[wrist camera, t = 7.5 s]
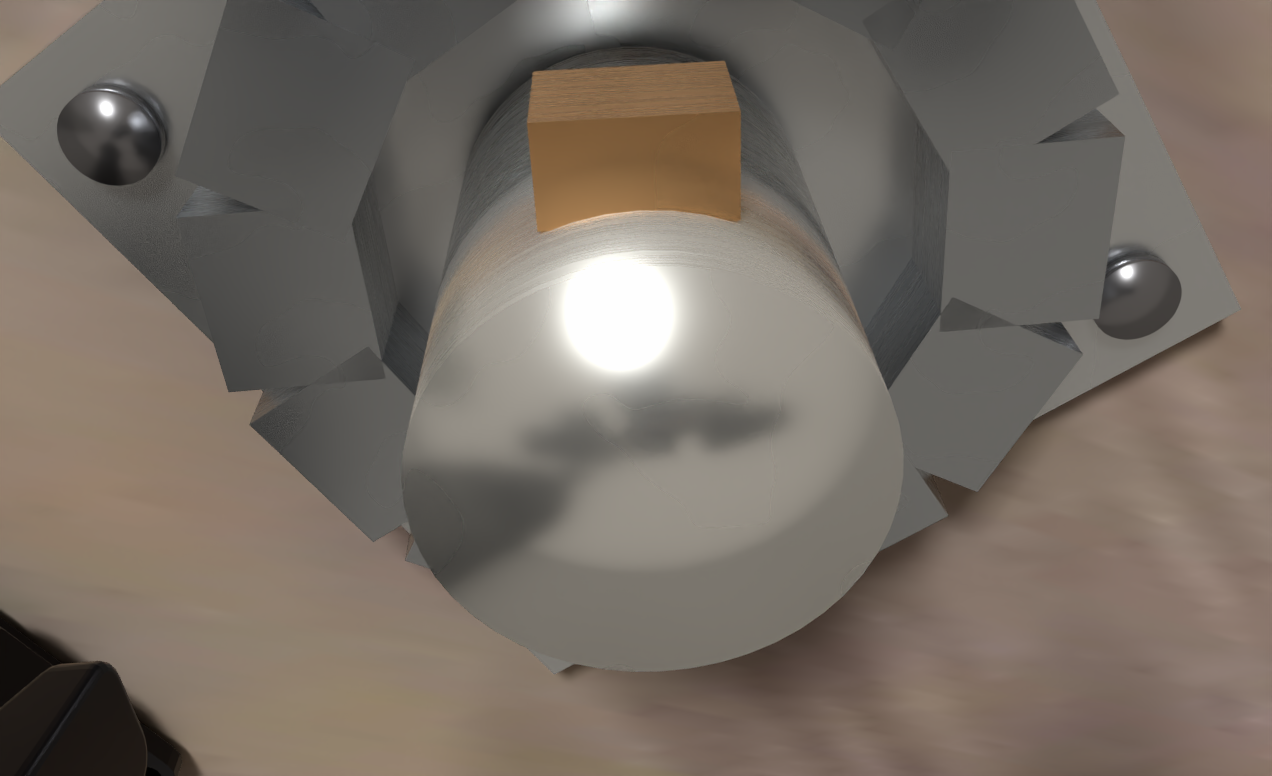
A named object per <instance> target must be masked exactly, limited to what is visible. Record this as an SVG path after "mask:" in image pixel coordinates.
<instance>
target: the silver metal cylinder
mask: <svg viewBox="0 0 1272 776" xmlns="http://www.w3.org/2000/svg"><path fill="white" fill-rule="evenodd" d="M902 481H903V444H902V438H901V431H900V425H899V421H898V418H897V415H896V412H895V409H894V406H893V403H892V400H891V397H890V395H889V392H888V390H887V387H886V385H885V382H884V379H883V377H882V374H881V372H880V369H879V367H878V364H877V362H876V359H875V357H874V354H873V352H872V349H871V346H870V344H869V341H868V339H867V336H866V334H865V331H864V329H863V326H862V324H861V321H860V319H859V316H858V314H857V311H856V308H855V306H854V303H853V301H852V298H851V296H850V293H849V291H848V288H847V286H846V283H845V281H844V278H843V275H842V273H841V270H840V268H839V265H838V263H837V260H836V258H835V255H834V253H833V250H832V248H831V245H830V243H829V240H828V237H827V235H826V232H825V230H824V227H823V225H822V222H821V220H820V217H819V215H818V212H817V210H816V207H815V204H814V202H813V199H812V197H811V194H810V192H809V189H808V187H807V184H806V182H805V179H804V177H803V174H802V172H801V169H800V166H799V164H798V161H797V159H796V156H795V154H794V151H793V149H792V146H791V144H790V142H789V140H788V138H787V136H786V134H785V132H784V130H783V128H782V126H781V125H780V124H779V122H778V121H777V119H776V118H775V116H774V115H773V114H772V112H771V111H770V109H769V108H768V107H767V106H766V105H765V104H764V103H763V102H762V101H761V99H760V98H759V97H758V96H757V95H756V94H755V93H754V92H753V91H752V90H750V89H749V88H748V87H747V86H745V85H744V84H743V83H742V82H740V81H739V80H738V79H737V78H735V77H734V76H732V75H730V74H729V72H728V69H727V66H726V63H725V61H709V62H706V61H703V60H701V59H699V58H696V57H694V56H690V55H686V54H683V53H679V52H676V51H672V50H666V49H658V48H651V47H618V48H609V49H601V50H597V51H593V52H589V53H585V54H581V55H577V56H574V57H572V58H569V59H567V60H564V61H562V62H560V63H557V64H555V65H553V66H551V67H549V68H547V69H546V70H544V71H533V77H532V78H531V79H529V80H528V81H527V82H526V83H524V84H523V85H522V86H520V87H519V88H518V89H516V90H515V91H514V92H513V93H512V94H511V95H510V96H509V97H508V98H507V99H506V100H505V101H504V102H503V103H502V104H501V105H500V106H499V107H498V109H497V110H496V111H495V113H494V114H493V115H492V117H491V118H490V119H489V120H488V122H487V123H486V125H485V126H484V128H483V130H482V132H481V133H480V135H479V137H478V139H477V141H476V142H475V145H474V147H473V150H472V152H471V155H470V158H469V160H468V163H467V167H466V171H465V175H464V180H463V184H462V189H461V193H460V197H459V202H458V206H457V211H456V215H455V220H454V224H453V229H452V233H451V238H450V242H449V247H448V251H447V256H446V260H445V265H444V269H443V274H442V278H441V283H440V287H439V292H438V296H437V301H436V305H435V310H434V314H433V319H432V323H431V328H430V332H429V337H428V341H427V346H426V350H425V355H424V359H423V364H422V368H421V373H420V377H419V382H418V386H417V391H416V395H415V400H414V404H413V409H412V413H411V418H410V422H409V427H408V431H407V436H406V440H405V445H404V449H403V457H402V474H401V482H402V492H403V502H404V508H405V512H406V515H407V519H408V523H409V526H410V530H411V533H412V535H413V537H414V539H415V542H416V544H417V546H418V548H419V551H420V553H421V555H422V557H423V558H424V560H425V561H426V563H427V565H428V566H429V568H430V569H431V571H432V572H433V574H434V576H435V577H436V578H437V579H438V581H439V582H440V583H441V584H442V585H443V587H444V588H445V589H446V590H447V591H448V592H449V594H450V595H451V596H452V597H453V598H454V599H455V600H456V601H457V602H458V603H459V604H461V605H462V606H463V607H464V608H465V609H466V610H467V611H468V612H469V613H471V614H472V615H473V616H474V617H475V618H477V619H478V620H480V621H481V622H483V623H484V624H485V625H487V626H488V627H490V628H491V629H493V630H494V631H495V632H497V633H499V634H501V635H503V636H505V637H506V638H508V639H510V640H512V641H514V642H516V643H518V644H519V645H521V646H524V647H526V648H529V649H531V650H534V651H536V652H539V653H541V654H544V655H546V656H549V657H553V658H556V659H559V660H563V661H566V662H570V663H573V664H578V665H583V666H589V667H594V668H600V669H607V670H619V671H630V672H653V671H671V670H680V669H690V668H696V667H700V666H705V665H710V664H715V663H720V662H724V661H727V660H730V659H733V658H737V657H740V656H743V655H746V654H749V653H752V652H754V651H757V650H759V649H761V648H764V647H766V646H769V645H771V644H773V643H776V642H777V641H779V640H781V639H783V638H785V637H787V636H789V635H790V634H792V633H794V632H796V631H798V630H800V629H801V628H803V627H804V626H806V625H807V624H808V623H810V622H811V621H813V620H814V619H816V618H817V617H819V616H820V615H821V614H823V613H824V612H825V611H826V610H828V609H829V608H830V607H831V606H832V605H833V604H835V603H836V602H837V601H838V600H839V599H840V598H841V597H843V596H844V595H845V594H846V593H847V591H848V590H849V589H850V588H851V587H852V586H853V585H854V584H855V583H856V581H857V580H858V579H859V578H860V577H861V576H862V575H863V574H864V572H865V571H866V569H867V568H868V566H869V565H870V563H871V562H872V560H873V559H874V558H875V556H876V555H877V553H878V552H879V550H880V548H881V546H882V544H883V542H884V540H885V538H886V536H887V534H888V532H889V530H890V528H891V525H892V522H893V519H894V516H895V513H896V510H897V507H898V504H899V499H900V493H901V487H902Z"/></svg>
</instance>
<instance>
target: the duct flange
mask: <svg viewBox="0 0 1272 776" xmlns="http://www.w3.org/2000/svg"><path fill="white" fill-rule="evenodd" d="M618 47H651V48H658V49H666V50H672V51H676V52H679V53H683V54H686V55H690V56H694V57H696V58H699V59H701V60H703V61H706V62H709V61H725V63H726V66H727V69H728V72H729V74H730V75H732V76H734V77H735V78H737V79H738V80H739V81H740V82H742V83H743V84H744V85H745V86H747V87H748V88H749V89H750V90H752V91H753V92H754V93H755V94H756V95H757V96H758V97H759V98H760V99H761V101H762V102H763V103H764V104H765V105H766V106H767V107H768V108H769V109H770V111H771V112H772V114H773V115H774V116H775V118H776V119H777V121H778V122H779V124H780V125H781V126H782V128H783V130H784V132H785V134H786V136H787V138H788V140H789V142H790V144H791V146H792V149H793V151H794V154H795V156H796V159H797V161H798V164H799V166H800V169H801V172H802V174H803V177H804V179H805V182H806V184H807V187H808V189H809V192H810V194H811V197H812V199H813V202H814V204H815V207H816V210H817V212H818V215H819V217H820V220H821V222H822V225H823V227H824V230H825V232H826V235H827V237H828V240H829V243H830V245H831V248H832V250H833V253H834V255H835V258H836V260H837V263H838V265H839V268H840V270H841V273H842V275H843V278H844V281H845V283H846V286H847V288H848V291H849V293H850V296H851V298H852V301H853V303H854V306H855V308H856V311H857V314H858V316H859V319H860V321H861V324H862V326H863V329H864V331H865V334H866V336H867V339H868V341H869V344H870V346H871V349H872V352H873V354H874V357H875V359H876V362H877V364H878V367H879V369H880V372H881V374H882V377H883V379H884V382H885V385H886V387H887V390H888V392H889V395H890V397H891V400H892V403H893V406H894V409H895V412H896V415H897V418H898V421H899V425H900V431H901V438H902V444H903V481H902V487H901V493H900V499H899V504H898V507H897V510H896V513H895V516H894V519H893V522H892V525H891V528H890V530H889V532H888V534H887V536H886V538H885V540H884V542H883V544H882V546H881V548H880V550H879V551H881V550H883V549H885V548H887V547H889V546H891V545H893V544H895V543H897V542H899V541H901V540H903V539H905V538H906V537H908V536H910V535H912V534H914V533H916V532H918V531H920V530H922V529H924V528H926V527H928V526H930V525H932V524H933V523H935V522H937V521H939V520H941V519H943V518H945V517H947V516H948V513H947V511H946V508H945V506H944V503H943V501H942V499H941V496H940V494H939V491H938V489H937V486H936V484H935V481H934V479H933V476H932V474H933V475H936V476H938V477H941V478H943V479H946V480H948V481H951V482H953V483H956V484H958V485H961V486H963V487H966V488H969V489H971V490H974V491H976V492H978V491H979V489H980V488H981V487H982V485H983V484H984V483H985V481H986V480H987V479H988V478H989V476H990V475H991V474H992V472H993V471H994V470H995V468H996V467H997V466H998V465H999V463H1000V462H1001V461H1002V459H1003V458H1004V457H1005V455H1006V454H1007V453H1008V452H1009V450H1010V449H1011V448H1012V446H1013V445H1014V444H1015V442H1016V441H1017V440H1018V439H1019V437H1020V436H1021V435H1022V433H1023V432H1024V431H1025V429H1026V428H1027V427H1028V426H1029V424H1030V423H1031V422H1032V420H1034V419H1036V418H1038V417H1040V416H1041V415H1043V414H1045V413H1047V412H1049V411H1051V410H1053V409H1055V408H1057V407H1058V406H1060V405H1062V404H1064V403H1066V402H1068V401H1070V400H1072V399H1073V398H1075V397H1077V396H1079V395H1081V394H1083V393H1085V392H1087V391H1088V390H1090V389H1092V388H1094V387H1096V386H1098V385H1100V384H1102V383H1104V382H1105V381H1107V380H1109V379H1111V378H1113V377H1115V376H1117V375H1119V374H1120V373H1122V372H1124V371H1126V370H1128V369H1130V368H1132V367H1134V366H1136V365H1137V364H1139V363H1141V362H1143V361H1145V360H1147V359H1149V358H1151V357H1152V356H1154V355H1156V354H1158V353H1160V352H1162V351H1164V350H1166V349H1167V348H1169V347H1171V346H1173V345H1175V344H1177V343H1179V342H1181V341H1183V340H1184V339H1186V338H1188V337H1190V336H1192V335H1194V334H1196V333H1198V332H1199V331H1201V330H1203V329H1205V328H1207V327H1209V326H1211V325H1213V324H1215V323H1216V322H1218V321H1220V320H1222V319H1224V318H1226V317H1228V316H1230V315H1231V314H1233V313H1235V312H1237V311H1239V310H1241V308H1240V305H1239V303H1238V301H1237V299H1236V297H1235V295H1234V293H1233V291H1232V289H1231V286H1230V284H1229V282H1228V280H1227V278H1226V276H1225V274H1224V272H1223V269H1222V267H1221V265H1220V263H1219V261H1218V259H1217V257H1216V255H1215V252H1214V250H1213V248H1212V246H1211V244H1210V242H1209V240H1208V238H1207V235H1206V233H1205V231H1204V229H1203V227H1202V225H1201V223H1200V221H1199V218H1198V216H1197V214H1196V212H1195V210H1194V208H1193V206H1192V204H1191V201H1190V199H1189V197H1188V195H1187V193H1186V191H1185V189H1184V187H1183V184H1182V182H1181V180H1180V178H1179V176H1178V174H1177V172H1176V170H1175V167H1174V165H1173V163H1172V161H1171V159H1170V157H1169V155H1168V153H1167V150H1166V148H1165V146H1164V144H1163V142H1162V140H1161V138H1160V136H1159V133H1158V131H1157V129H1156V127H1155V125H1154V123H1153V121H1152V119H1151V116H1150V114H1149V112H1148V110H1147V108H1146V106H1145V104H1144V102H1143V100H1142V97H1141V95H1140V93H1139V91H1138V89H1137V87H1136V85H1135V83H1134V80H1133V78H1132V76H1131V74H1130V72H1129V70H1128V68H1127V66H1126V63H1125V61H1124V59H1123V57H1122V55H1121V53H1120V51H1119V49H1118V46H1117V44H1116V42H1115V40H1114V38H1113V36H1112V34H1111V32H1110V29H1109V27H1108V25H1107V23H1106V21H1105V19H1104V17H1103V15H1102V12H1101V10H1100V8H1099V6H1098V4H1097V2H1096V0H104V1H102V2H101V3H100V4H99V5H98V6H96V7H95V8H94V9H93V10H91V11H90V12H89V13H88V14H87V15H85V16H84V17H83V18H82V19H81V20H79V21H78V22H77V23H76V24H75V25H73V26H72V27H71V28H70V29H69V30H67V31H66V32H65V33H64V34H63V35H61V36H60V37H59V38H58V39H57V40H55V41H54V42H53V43H52V44H50V45H49V46H48V47H47V48H46V49H44V50H43V51H42V52H41V53H40V54H38V55H37V56H36V57H35V58H34V59H32V60H31V61H30V62H29V63H28V64H26V65H25V66H24V67H23V68H22V69H20V70H19V71H18V72H17V73H16V74H14V75H13V76H12V77H11V78H9V79H8V80H7V81H6V82H5V83H3V84H2V85H1V86H0V136H1V137H2V138H3V139H4V140H5V141H6V142H7V143H9V144H10V145H11V146H12V147H13V148H14V149H15V150H16V151H17V152H18V153H19V154H20V155H21V156H22V157H23V158H24V159H25V160H26V161H27V162H28V163H29V164H30V165H31V166H32V167H33V168H34V169H35V170H36V171H37V172H38V173H39V174H40V175H41V176H42V177H43V178H44V179H46V180H47V181H48V182H49V183H50V184H51V185H52V186H53V187H54V188H55V189H56V190H57V191H58V192H59V193H60V194H61V195H62V196H63V197H64V198H65V199H66V200H67V201H68V202H69V203H70V204H71V205H72V206H73V207H74V208H75V209H76V210H77V211H78V212H79V213H80V214H81V215H83V216H84V217H85V218H86V219H87V220H88V221H89V222H90V223H91V224H92V225H93V226H94V227H95V228H96V229H97V230H98V231H99V232H100V233H101V234H102V235H103V236H104V237H105V238H106V239H107V240H108V241H109V242H110V243H111V244H112V245H113V246H114V247H115V248H116V249H117V250H118V251H119V252H121V253H122V254H123V255H124V256H125V257H126V258H127V259H128V260H129V261H130V262H131V263H132V264H133V265H134V266H135V267H136V268H137V269H138V270H139V271H140V272H141V273H142V274H143V275H144V276H145V277H146V278H147V279H148V280H149V281H150V282H151V283H152V284H153V285H154V286H155V287H156V288H158V289H159V290H160V291H161V292H162V293H163V294H164V295H165V296H166V297H167V298H168V299H169V300H170V301H171V302H172V303H173V304H174V305H175V306H176V307H177V308H178V309H179V310H180V311H181V312H182V313H183V314H184V315H185V316H186V317H187V318H188V319H189V320H190V321H191V322H192V323H193V324H195V325H196V326H197V327H198V328H199V329H200V330H201V331H202V332H203V333H204V334H205V335H206V336H207V337H208V338H209V339H210V340H211V341H212V342H213V343H214V346H215V349H216V352H217V356H218V359H219V362H220V365H221V369H222V372H223V375H224V378H225V382H226V385H227V388H228V392H236V391H248V390H260V389H261V390H262V391H263V394H262V396H261V398H260V401H259V403H258V405H257V408H256V410H255V412H254V415H253V417H252V420H251V422H250V424H249V425H250V426H251V427H252V428H254V429H255V430H256V431H257V432H258V433H259V434H260V435H261V436H262V437H263V438H264V439H265V440H266V441H267V442H268V443H269V444H270V445H271V446H273V447H274V448H275V449H276V450H277V451H278V452H279V453H280V454H281V455H282V456H283V457H284V458H285V459H286V460H287V461H288V462H289V463H290V464H291V465H293V466H294V467H295V468H296V469H297V470H298V471H299V472H300V473H301V474H302V475H303V476H304V477H305V478H306V479H307V480H308V481H309V482H310V483H312V484H313V485H314V486H315V487H316V488H317V489H318V490H319V491H320V492H321V493H322V494H323V495H324V496H325V497H326V498H327V499H328V500H329V501H330V502H332V503H333V504H334V505H335V506H336V507H337V508H338V509H339V510H340V511H341V512H342V513H343V514H344V515H345V516H346V517H347V518H348V519H349V520H351V521H352V522H353V523H354V524H355V525H356V526H357V527H358V528H359V529H360V530H361V531H362V532H363V533H364V534H365V535H366V536H367V537H368V538H370V539H371V540H372V541H373V542H374V541H376V540H377V539H379V538H381V537H382V536H384V535H386V534H387V533H389V532H391V531H392V530H394V529H396V528H397V527H399V526H402V527H403V528H404V529H405V530H406V531H407V532H408V533H409V534H410V537H409V543H408V548H407V553H406V558H405V561H408V562H411V563H414V564H417V565H420V566H423V567H426V568H429V566H428V565H427V563H426V561H425V560H424V558H423V557H422V555H421V553H420V551H419V548H418V546H417V544H416V542H415V539H414V537H413V535H412V533H411V530H410V526H409V523H408V519H407V515H406V512H405V508H404V502H403V492H402V482H401V474H402V457H403V449H404V445H405V440H406V436H407V431H408V427H409V422H410V418H411V413H412V409H413V404H414V400H415V395H416V391H417V386H418V382H419V377H420V373H421V368H422V364H423V359H424V355H425V350H426V346H427V341H428V337H429V332H430V328H431V323H432V319H433V314H434V310H435V305H436V301H437V296H438V292H439V287H440V283H441V278H442V274H443V269H444V265H445V260H446V256H447V251H448V247H449V242H450V238H451V233H452V229H453V224H454V220H455V215H456V211H457V206H458V202H459V197H460V193H461V189H462V184H463V180H464V175H465V171H466V167H467V163H468V160H469V158H470V155H471V152H472V150H473V147H474V145H475V142H476V141H477V139H478V137H479V135H480V133H481V132H482V130H483V128H484V126H485V125H486V123H487V122H488V120H489V119H490V118H491V117H492V115H493V114H494V113H495V111H496V110H497V109H498V107H499V106H500V105H501V104H502V103H503V102H504V101H505V100H506V99H507V98H508V97H509V96H510V95H511V94H512V93H513V92H514V91H515V90H516V89H518V88H519V87H520V86H522V85H523V84H524V83H526V82H527V81H528V80H529V79H531V78H532V77H533V71H544V70H546V69H547V68H549V67H551V66H553V65H555V64H557V63H560V62H562V61H564V60H567V59H569V58H572V57H574V56H577V55H581V54H585V53H589V52H593V51H597V50H601V49H609V48H618ZM429 569H430V568H429ZM527 649H528V650H529V651H531V652H532V653H533V654H534V655H535V656H536V657H537V658H538V659H539V660H540V661H541V662H542V663H543V664H544V665H545V666H546V667H547V668H548V669H549V670H550V671H551V672H552V673H553V674H556V673H558V672H560V671H562V670H564V669H566V668H567V667H569V666H571V665H573V663H570V662H566V661H563V660H559V659H556V658H553V657H549V656H546V655H544V654H541V653H539V652H536V651H534V650H531V649H529V648H527Z"/></svg>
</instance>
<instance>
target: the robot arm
mask: <svg viewBox="0 0 1272 776" xmlns="http://www.w3.org/2000/svg"><path fill="white" fill-rule="evenodd" d="M181 765H182V758H181V755H180V753H179V752H178V751H177V750H176V749H175V748H174V747H173V746H171V745H170V744H169V743H167V742H166V741H165V740H163V739H162V738H161V737H159V736H158V735H157V734H155V733H154V732H153V731H151V730H150V729H149V728H147V727H146V726H145V725H143V724H142V723H141V722H139V721H138V718H137V716H136V714H135V711H134V709H133V707H132V704H131V702H130V700H129V697H128V695H127V693H126V690H125V688H124V686H123V683H122V681H121V679H120V676H119V675H118V673H117V671H116V669H115V668H114V667H113V666H112V665H110V664H109V663H107V662H102V661H93V662H81V663H68V664H62V663H60V662H59V661H58V660H56V659H55V658H54V657H52V656H51V655H50V654H48V653H47V652H46V651H44V650H43V649H42V648H40V647H39V646H38V645H36V644H35V643H34V642H32V641H31V640H30V639H28V638H27V637H26V636H24V635H23V634H22V633H20V632H19V631H18V630H16V629H15V628H14V627H12V626H11V625H10V624H8V623H7V622H6V621H4V620H3V619H2V618H0V776H178V774H179V771H180V768H181ZM150 767H151V768H150Z"/></svg>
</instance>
